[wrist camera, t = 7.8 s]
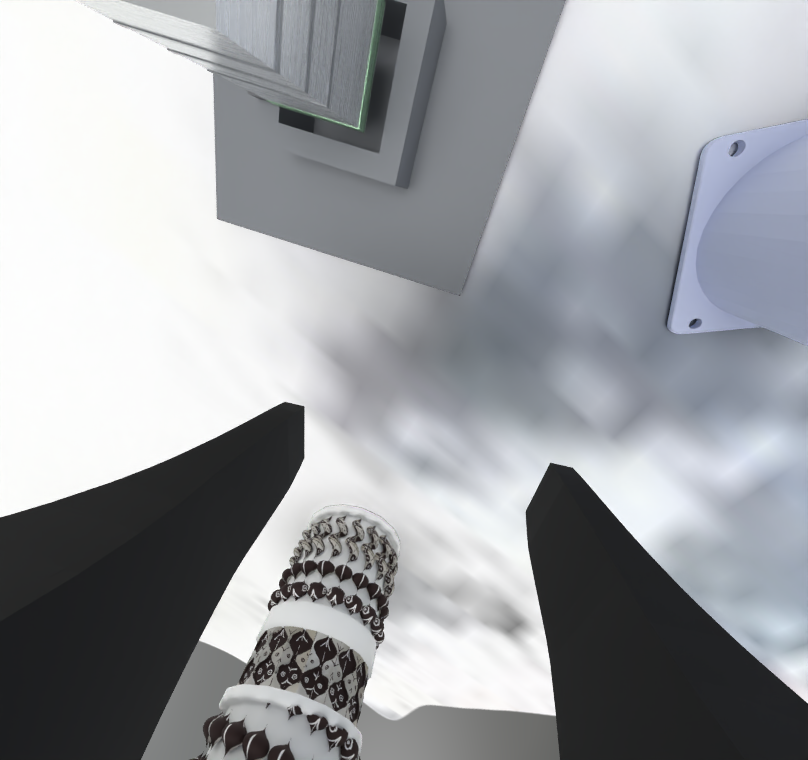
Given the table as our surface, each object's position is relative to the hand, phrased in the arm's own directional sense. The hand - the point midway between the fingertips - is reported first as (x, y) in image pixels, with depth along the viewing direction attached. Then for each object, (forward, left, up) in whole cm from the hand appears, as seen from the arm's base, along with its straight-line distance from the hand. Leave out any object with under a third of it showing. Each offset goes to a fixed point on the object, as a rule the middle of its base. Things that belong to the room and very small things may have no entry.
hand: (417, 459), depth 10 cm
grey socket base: (+2, -11, -10) cm, 15 cm away
